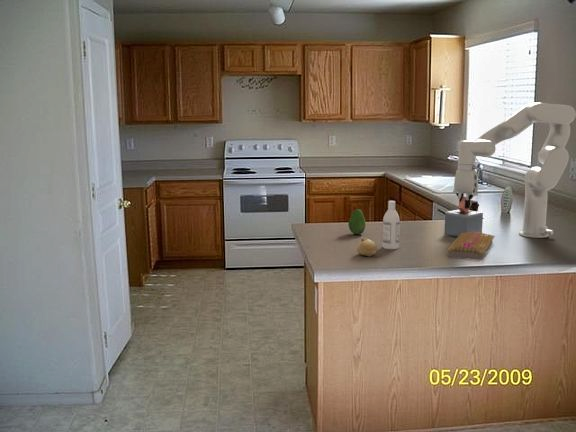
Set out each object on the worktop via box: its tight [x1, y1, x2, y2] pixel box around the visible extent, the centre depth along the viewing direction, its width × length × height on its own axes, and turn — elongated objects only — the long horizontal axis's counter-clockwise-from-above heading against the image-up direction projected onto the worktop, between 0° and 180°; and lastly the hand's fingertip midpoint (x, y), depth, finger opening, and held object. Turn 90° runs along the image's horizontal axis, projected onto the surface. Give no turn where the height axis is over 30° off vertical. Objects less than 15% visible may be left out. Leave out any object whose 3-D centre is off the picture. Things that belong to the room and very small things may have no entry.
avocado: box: [348, 208, 366, 235], centre depth 282 cm, size 8×8×12 cm
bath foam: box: [381, 200, 401, 250], centre depth 254 cm, size 7×7×20 cm
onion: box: [356, 237, 378, 257], centre depth 243 cm, size 8×8×7 cm
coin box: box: [443, 208, 484, 239], centre depth 279 cm, size 12×12×11 cm
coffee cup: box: [469, 199, 480, 212], centre depth 299 cm, size 9×8×13 cm
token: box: [457, 196, 472, 214], centre depth 277 cm, size 2×6×5 cm
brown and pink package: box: [445, 232, 496, 261], centre depth 252 cm, size 35×14×6 cm, turn 155°
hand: (464, 207), depth 277 cm, fingers closed on token, 2 cm apart
